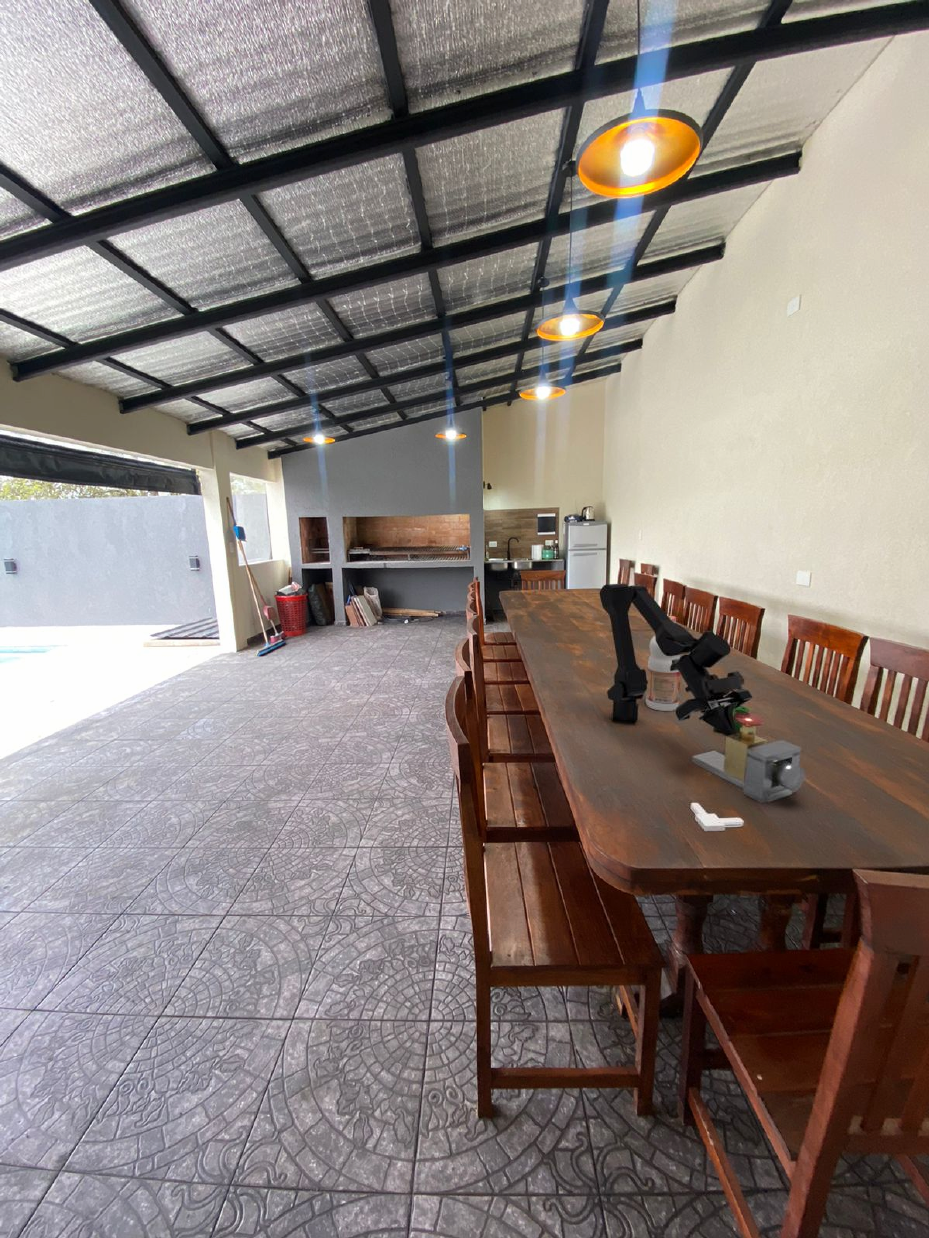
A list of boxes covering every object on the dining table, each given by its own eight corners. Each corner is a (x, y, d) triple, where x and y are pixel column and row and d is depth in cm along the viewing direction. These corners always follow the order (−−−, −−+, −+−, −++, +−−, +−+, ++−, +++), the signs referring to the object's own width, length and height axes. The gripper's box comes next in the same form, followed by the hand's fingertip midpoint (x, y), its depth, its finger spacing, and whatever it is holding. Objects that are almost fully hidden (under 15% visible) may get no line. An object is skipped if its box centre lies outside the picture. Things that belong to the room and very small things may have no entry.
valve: (722, 769, 111) (727, 714, 108) (741, 764, 113) (746, 710, 111) (754, 785, 104) (760, 727, 101) (774, 779, 106) (780, 722, 104)
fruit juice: (639, 702, 157) (644, 614, 152) (665, 699, 160) (670, 613, 154) (658, 713, 148) (663, 620, 143) (685, 709, 151) (691, 618, 145)
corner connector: (723, 807, 99) (724, 800, 99) (747, 832, 92) (748, 824, 91) (684, 809, 99) (684, 801, 99) (704, 833, 91) (705, 825, 91)
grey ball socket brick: (686, 763, 117) (689, 723, 115) (718, 755, 121) (722, 716, 119) (775, 810, 97) (781, 763, 96) (810, 798, 101) (816, 753, 100)
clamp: (733, 748, 134) (742, 726, 129) (710, 738, 137) (718, 716, 132) (745, 720, 142) (754, 698, 136) (722, 711, 145) (731, 689, 139)
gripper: (689, 665, 109) (729, 731, 101) (749, 655, 116) (790, 716, 108) (659, 689, 117) (694, 752, 109) (717, 678, 124) (754, 737, 116)
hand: (734, 739), depth 110 cm, fingers closed, pressing on valve
